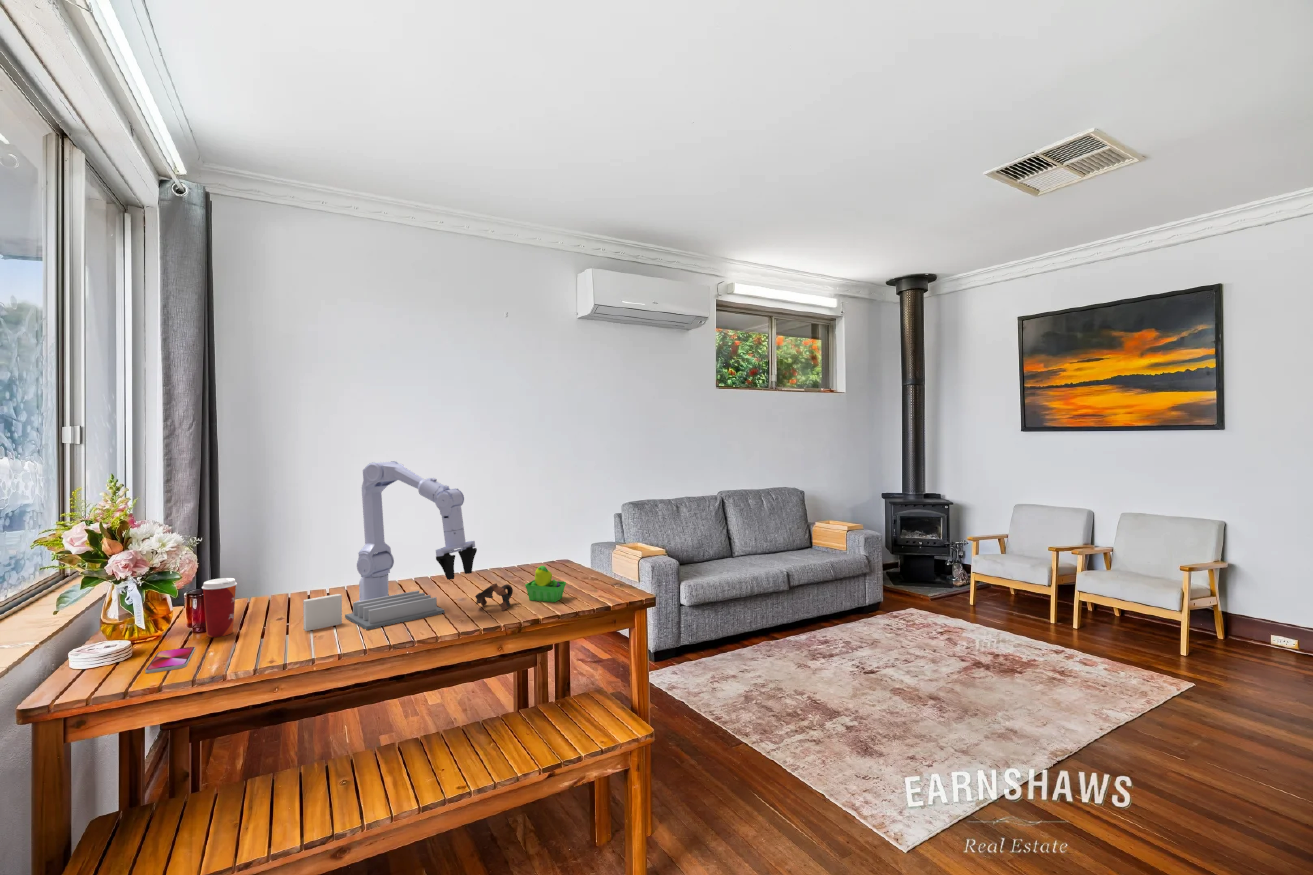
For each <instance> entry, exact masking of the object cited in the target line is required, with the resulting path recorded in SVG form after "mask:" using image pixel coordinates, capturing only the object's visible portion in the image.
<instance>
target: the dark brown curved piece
mask: <svg viewBox="0 0 1313 875" xmlns="http://www.w3.org/2000/svg"><path fill="white" fill-rule="evenodd" d="M506 590H507V591H506ZM513 591H514V588H513V587H512V585H510V584H507V583H506V584H504V585H502V586H499V585H498V584H497V582H495V583H494V584H491V585H490V586H488V587H487V588H485V589H483V590H482V591H481V592H479V593H477V594H476V595H475V596H474V597H475V599H476V602H475V604H476V605H478V604H481V605H482V606H483V605H485V606H486V605H487V603H488V601H487V600H486V599H493V598H494V596H493V593H494V592H495V594H496V595H497V596H499V597H501V599H502V602H501V603H500V604H499V607H500V610H501V611H502V612H504V611H505V610H507V609H508V608H510V607H511V602H510V599H511V597H512V595H513V594H514V593H513Z"/></svg>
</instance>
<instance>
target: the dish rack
mask: <svg viewBox="0 0 1313 875" xmlns="http://www.w3.org/2000/svg"><path fill="white" fill-rule="evenodd" d="M357 601H358V602H356V601H353V602H352V612H351V613H347V614H344V618H345V619H346V620H347V621H350V622H351V623H353V624H355V625H357V626H358V625H359V626H358V627H360V628H362V629H363V630H365V629H366V630H365V631H368V629H370V630H375V629H379V628H382V627H381V626H383V627H386V626H385V625H388V626H392V625H391V624H393V625H396V624H395V623H397V624H401V623H400V622H402V623H405V622H404V621H406V622H411V621H414V620H415V621H416V620H419V619H423V618H428V616H429V617H434V616H437V615H442V613H443V614H445V610H446V609H443V608H441V607H439V606H438V605H437V596H434V597H432V595H431V594H426V593H425V592H420V590H413V591H408V592H402V593H401V592H400V593H396V594H391V595H388V596H385V597H380V598H374V599H369V600H364V601H359V600H357Z"/></svg>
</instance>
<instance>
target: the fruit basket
mask: <svg viewBox="0 0 1313 875" xmlns="http://www.w3.org/2000/svg"><path fill="white" fill-rule="evenodd" d="M534 573H535V575H534V579H533V580H531V581H529V582H527V583H525V585H524V587H525V588H526V591H527V596H528V600H529V601H537V602H547V603H548V602H550V603H556V602H558V601H559V600H561V599H562V598H563V595H564V591H565V587H566V585H567V582H566V581H560V580H559V581H557V580H556V579H552V577H553V574H552V572H551V571H550V570H549V569H548V568H547V567H546V566H545V565H540V566H538V567H537V568H536V570H535V571H534Z"/></svg>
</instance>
